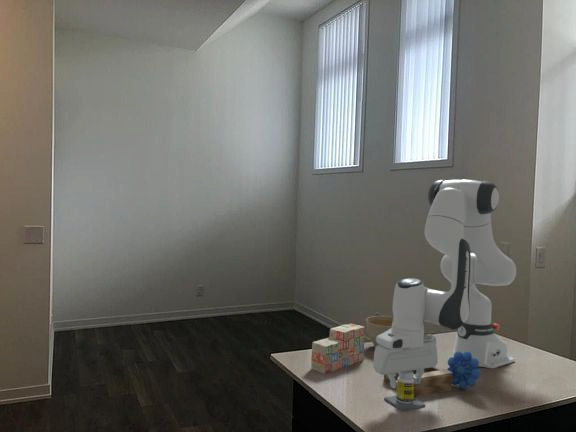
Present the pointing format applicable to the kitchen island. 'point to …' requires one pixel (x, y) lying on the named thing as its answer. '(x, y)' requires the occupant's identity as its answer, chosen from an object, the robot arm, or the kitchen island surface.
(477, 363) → the grapes
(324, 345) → the stack of blocks
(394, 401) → the slate pad
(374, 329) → the planter bowl
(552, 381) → the kitchen island surface
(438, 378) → the crate
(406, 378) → the supplement bottle
